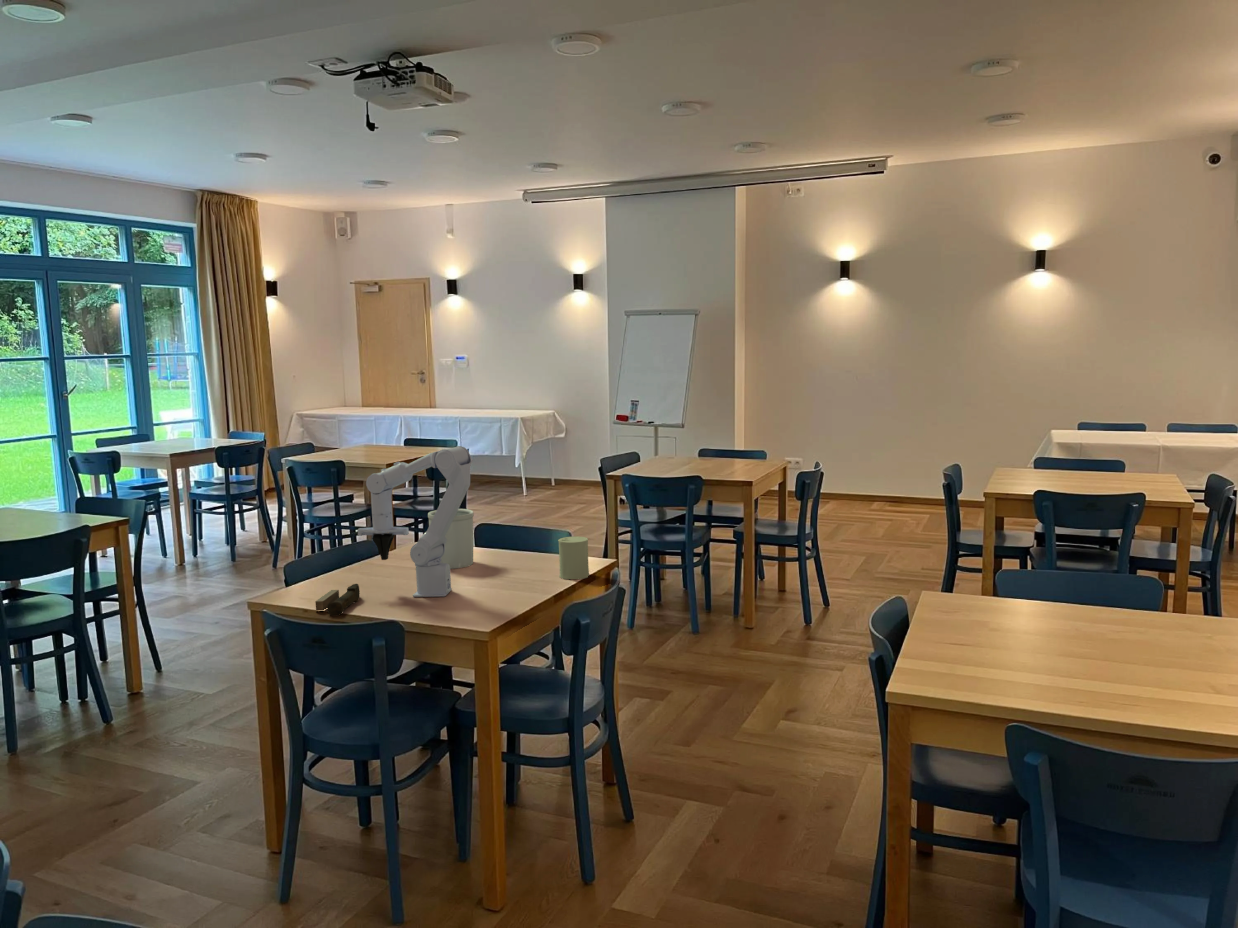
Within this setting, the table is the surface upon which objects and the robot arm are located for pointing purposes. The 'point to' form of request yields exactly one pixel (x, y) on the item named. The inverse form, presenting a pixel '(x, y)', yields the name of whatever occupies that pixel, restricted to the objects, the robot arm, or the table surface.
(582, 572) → the can
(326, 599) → the block
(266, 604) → the table surface
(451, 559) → the utensil holder
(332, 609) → the hand tool
